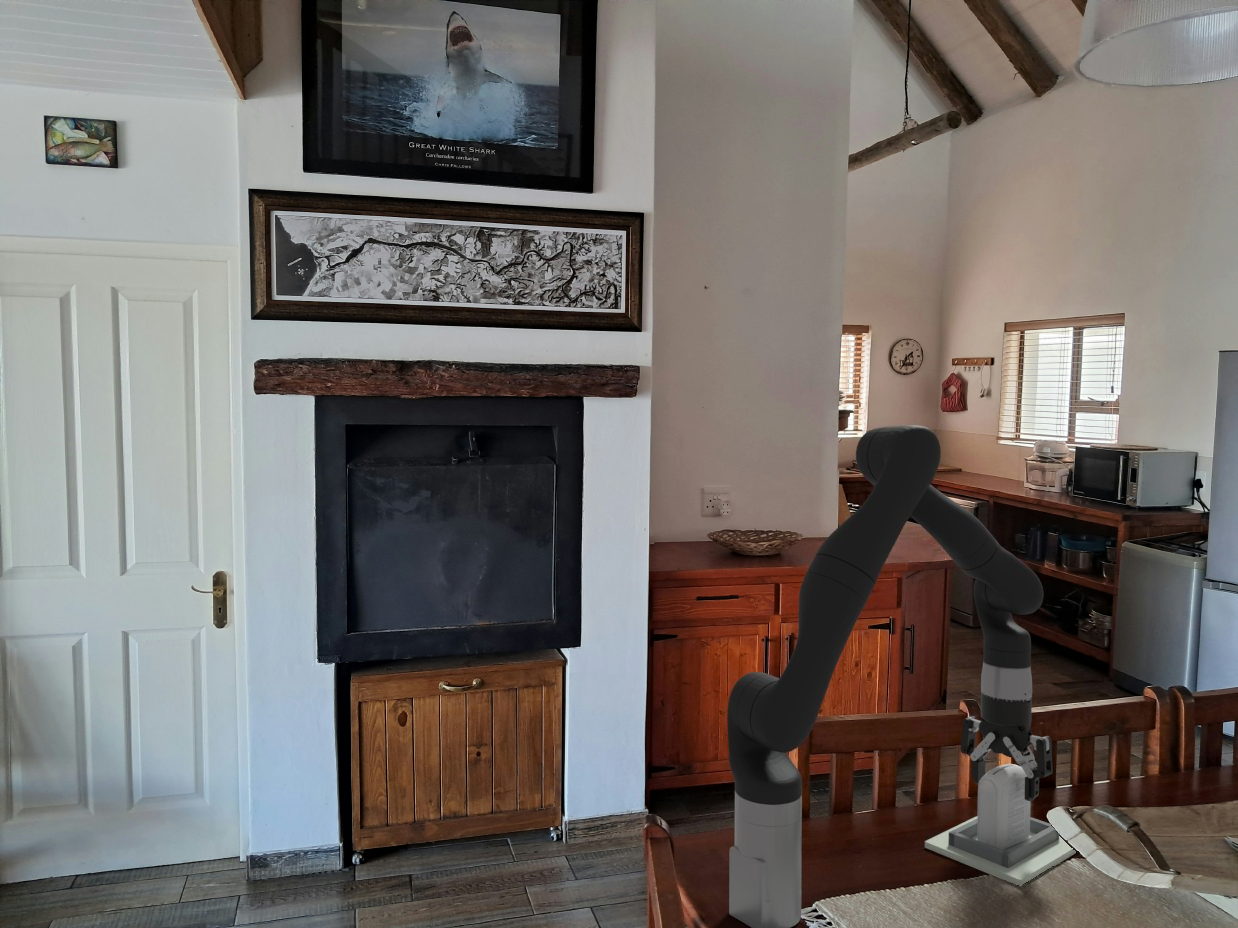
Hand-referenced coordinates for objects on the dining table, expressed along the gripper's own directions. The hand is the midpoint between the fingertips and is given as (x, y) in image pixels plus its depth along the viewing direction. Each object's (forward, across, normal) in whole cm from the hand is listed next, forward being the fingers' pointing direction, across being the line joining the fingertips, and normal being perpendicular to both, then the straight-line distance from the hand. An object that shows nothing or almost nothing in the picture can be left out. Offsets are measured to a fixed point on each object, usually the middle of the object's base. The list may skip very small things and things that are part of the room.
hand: (1004, 790), depth 144 cm
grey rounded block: (+9, 0, 0) cm, 9 cm away
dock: (+9, 0, 0) cm, 9 cm away
